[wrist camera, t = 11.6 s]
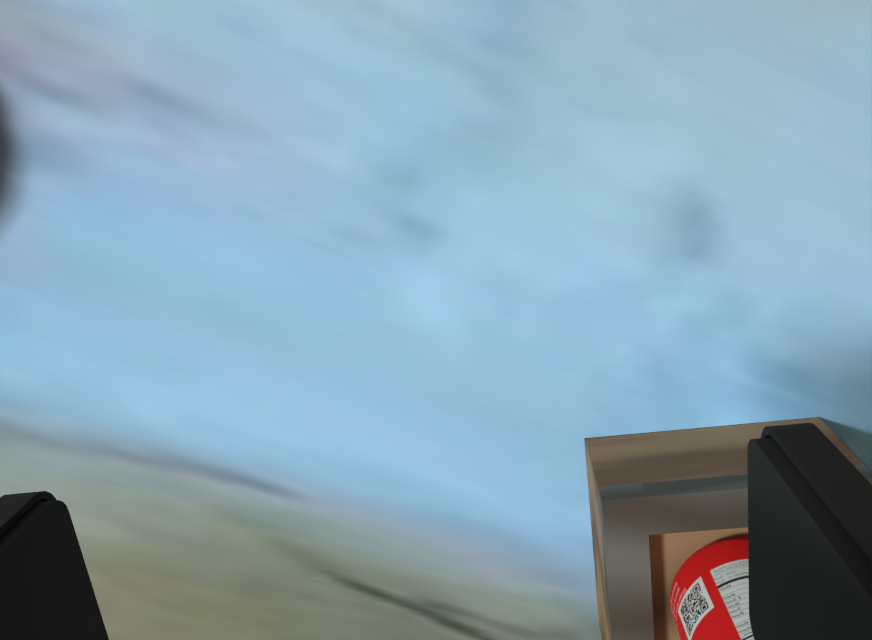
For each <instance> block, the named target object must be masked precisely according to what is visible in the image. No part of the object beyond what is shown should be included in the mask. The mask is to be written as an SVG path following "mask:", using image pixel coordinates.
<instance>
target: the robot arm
mask: <svg viewBox="0 0 872 640" xmlns="http://www.w3.org/2000/svg"><path fill="white" fill-rule="evenodd" d="M747 458H748V562H749V618H750V624H751V629H752V633H753V636H754V639H755V640H872V484H871V483H870V482H869V481H868V480H867V479H866V478H865V477H864V476H863V475H862V474H861V473H860V472H859V471H858V470H857V469H856V468H855V466H854V465H853V464H852V463H851V462H850V461H849V460H848V459H847V458H846V457H845V456H844V455H843V454H842V453H841V452H840V451H839V450H838V448H837V447H836V446H835V445H834V444H833V443H832V442H831V441H830V440H829V439H828V438H827V437H826V436H825V435H824V434H823V433H822V432H821V430H820V429H819V428H818V427H817V426H816V425H814V424H813V423H800V424H789V425H778V426H767V427H765V428H764V429H763V431H762V435H761V438H757V439H750V441H749V443H748V451H747ZM0 640H109V639H108V636H107V632H106V629H105V626H104V623H103V620H102V616H101V613H100V610H99V607H98V604H97V600H96V597H95V594H94V591H93V588H92V584H91V581H90V578H89V575H88V572H87V568H86V565H85V562H84V559H83V555H82V552H81V549H80V546H79V543H78V539H77V536H76V533H75V530H74V527H73V523H72V520H71V517H70V514H69V511H68V509H67V506H66V505H65V504H64V503H63V502H62V501H59V500H56V498H55V497H54V496H53V495H52V494H51V493H49V492H46V491H43V492H32V493H21V494H10V495H4V496H2V497H0Z"/></svg>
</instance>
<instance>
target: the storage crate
mask: <svg viewBox="0 0 872 640" xmlns="http://www.w3.org/2000/svg"><path fill="white" fill-rule="evenodd" d="M800 423H813V424H814V425H816V426H817V427H818V428H819V429H820V430H821V432H822V433H823V434H824V435H825V436H826V437H827V438H828V439H829V440H830V441H831V442H832V443H833V444H834V445H835V446H836V447H837V448H838V450H839V451H840V452H841V453H842V454H843V455H844V456H845V457H846V458H847V459H848V460H849V461H850V462H851V463H852V464H853V465H854V466H855V468H856V469H857V470H858V471H859V472H860V473H861V474H862V475H863V476H864V477H865V478H866V479H867V480H868V481H869V482H870V483H871V484H872V471H871V470H870V469H869V468H868V467H867V466H866V465H865V464H864V463H863V462H862V461H861V460H860V459H859V458H858V456H857V455H856V454H855V453H854V452H853V451H852V450H851V449H850V448H849V447H848V446H847V445H846V444H845V443H844V442H843V441H842V440H841V439H840V438H839V437H838V436H837V435H836V434H835V433H834V432H833V431H832V430H831V429H830V428H829V427H828V426H827V425H826V424H825V423H824V422H823V421H822V420H821V419H820V418H819V417H818V418H807V419H795V420H784V421H773V422H762V423H751V424H740V425H729V426H718V427H707V428H696V429H685V430H674V431H663V432H651V433H640V434H629V435H618V436H607V437H596V438H585V450H586V463H587V475H588V488H589V500H590V513H591V526H592V538H593V551H594V563H595V576H596V588H597V601H598V613H599V626H600V631H601V635H602V640H681V638H680V636H679V633H678V630H677V627H676V624H675V621H674V618H673V616H672V612H671V607H670V592H671V586H672V583H673V580H674V578H675V575H676V573H677V572H678V570H679V569H680V567H681V566H682V565H683V563H684V562H685V561H686V560H687V559H688V558H689V557H690V556H691V555H692V554H694V553H695V552H696V551H698V550H699V549H701V548H703V547H705V546H706V545H709V544H711V543H714V542H717V541H720V540H724V539H730V538H748V458H747V451H748V443H749V441H750V439H757V438H761V435H762V431H763V429H764V428H765V427H767V426H778V425H789V424H800Z"/></svg>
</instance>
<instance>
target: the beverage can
mask: <svg viewBox="0 0 872 640" xmlns="http://www.w3.org/2000/svg"><path fill="white" fill-rule="evenodd" d="M670 607H671V612H672V616H673V618H674V621H675V624H676V627H677V630H678V633H679V636H680V638H681V640H755V639H754V636H753V633H752V629H751V624H750V618H749V562H748V538H730V539H724V540H720V541H717V542H714V543H711V544H709V545H706V546H705V547H703V548H701V549H699V550H698V551H696V552H695V553H694V554H692V555H691V556H690V557H689V558H688V559H687V560H686V561H685V562H684V563H683V565H682V566H681V567H680V569H679V570H678V572H677V573H676V575H675V578H674V580H673V583H672V586H671V592H670Z"/></svg>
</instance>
